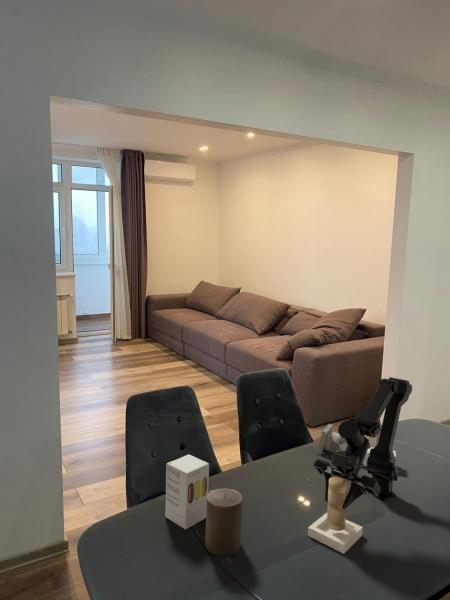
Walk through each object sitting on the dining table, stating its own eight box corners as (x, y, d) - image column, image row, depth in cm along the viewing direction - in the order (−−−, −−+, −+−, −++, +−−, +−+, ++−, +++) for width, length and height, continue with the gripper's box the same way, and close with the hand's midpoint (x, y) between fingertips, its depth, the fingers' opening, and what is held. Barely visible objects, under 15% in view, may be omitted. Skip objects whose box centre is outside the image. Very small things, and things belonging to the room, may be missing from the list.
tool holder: (327, 519, 134) (327, 511, 134) (362, 535, 127) (362, 527, 127) (307, 535, 126) (308, 527, 126) (343, 553, 119) (344, 544, 118)
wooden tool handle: (341, 519, 129) (344, 476, 127) (347, 530, 124) (349, 485, 123) (324, 520, 129) (326, 476, 127) (329, 530, 124) (331, 486, 122)
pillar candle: (229, 562, 115) (231, 506, 113) (197, 548, 120) (199, 494, 118) (247, 542, 123) (249, 490, 121) (217, 530, 128) (219, 479, 127)
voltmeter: (310, 445, 187) (311, 422, 186) (337, 445, 188) (338, 422, 187) (333, 477, 160) (334, 450, 159) (363, 476, 162) (365, 449, 161)
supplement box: (185, 530, 127) (186, 473, 126) (164, 517, 133) (164, 463, 132) (208, 516, 134) (209, 462, 133) (187, 504, 140) (188, 453, 139)
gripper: (317, 432, 133) (295, 481, 126) (378, 451, 121) (357, 507, 114) (329, 449, 140) (309, 496, 133) (388, 469, 127) (369, 523, 120)
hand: (334, 505), depth 125 cm, fingers closed on wooden tool handle, 5 cm apart
